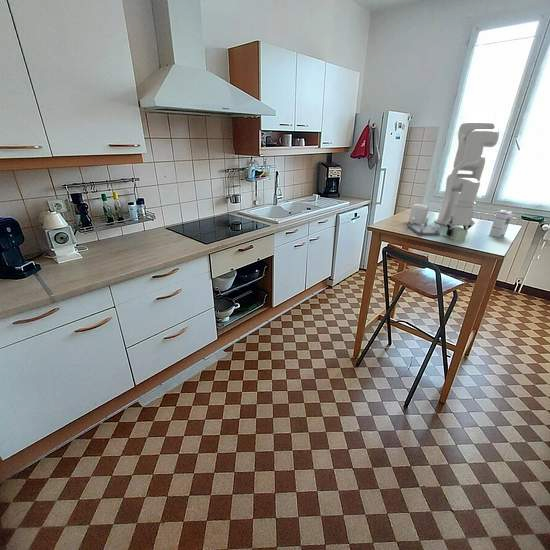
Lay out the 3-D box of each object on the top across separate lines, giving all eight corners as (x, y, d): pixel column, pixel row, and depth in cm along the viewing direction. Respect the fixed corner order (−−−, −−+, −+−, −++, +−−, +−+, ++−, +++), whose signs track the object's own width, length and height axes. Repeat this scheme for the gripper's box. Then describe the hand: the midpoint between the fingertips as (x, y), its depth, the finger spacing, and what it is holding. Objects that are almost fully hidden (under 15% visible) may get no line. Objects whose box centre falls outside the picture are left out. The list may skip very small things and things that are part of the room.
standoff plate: (426, 227, 185) (429, 217, 182) (439, 235, 169) (442, 225, 167) (407, 226, 185) (409, 217, 182) (418, 234, 170) (421, 224, 167)
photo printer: (407, 222, 195) (411, 203, 189) (410, 221, 197) (414, 202, 192) (422, 225, 188) (427, 206, 182) (425, 224, 190) (430, 205, 185)
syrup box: (499, 237, 169) (508, 212, 162) (488, 234, 173) (497, 210, 167) (504, 236, 172) (513, 211, 165) (493, 233, 176) (501, 209, 170)
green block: (454, 235, 171) (457, 225, 168) (464, 241, 161) (467, 231, 159) (445, 235, 171) (448, 225, 169) (455, 241, 161) (458, 230, 159)
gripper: (477, 203, 161) (467, 234, 169) (445, 202, 161) (436, 233, 169) (485, 206, 154) (474, 238, 162) (452, 205, 155) (443, 237, 162)
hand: (455, 235), depth 165 cm, fingers open, 7 cm apart
